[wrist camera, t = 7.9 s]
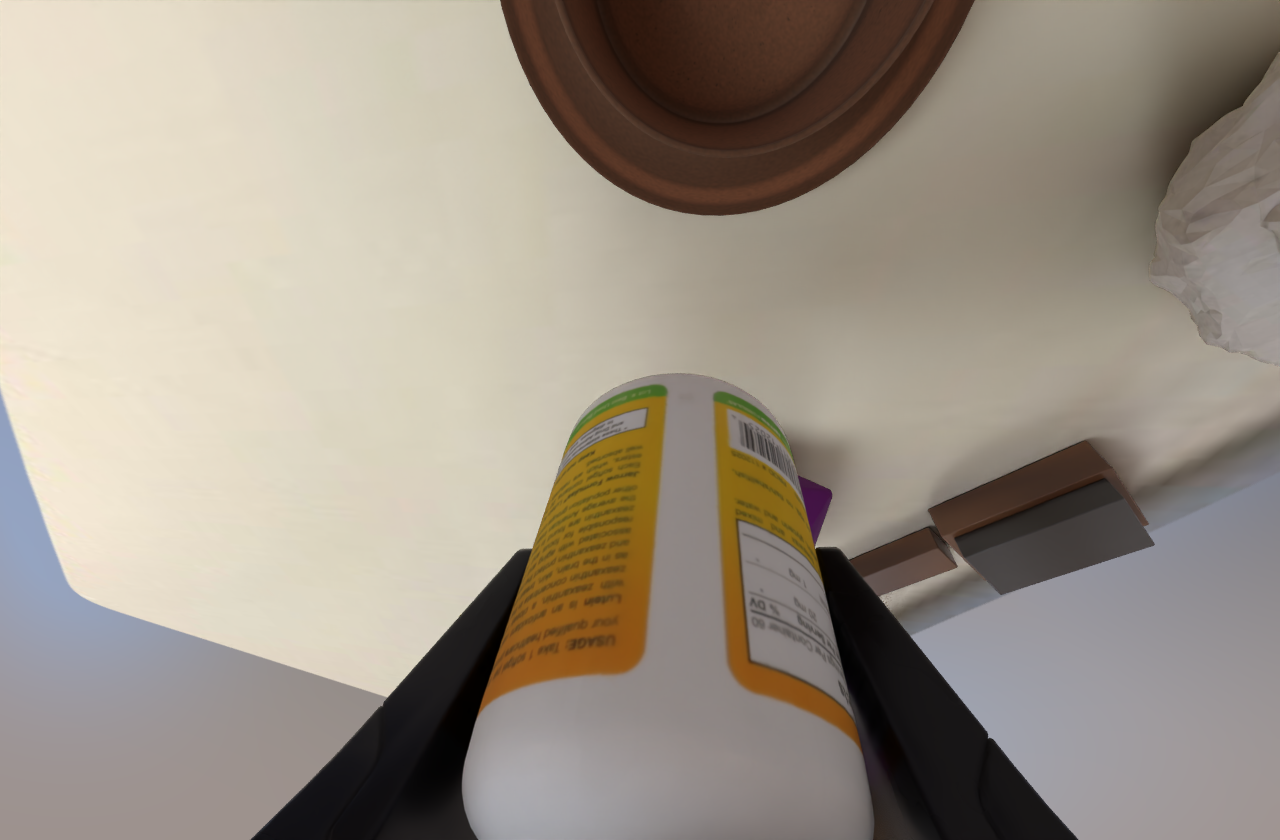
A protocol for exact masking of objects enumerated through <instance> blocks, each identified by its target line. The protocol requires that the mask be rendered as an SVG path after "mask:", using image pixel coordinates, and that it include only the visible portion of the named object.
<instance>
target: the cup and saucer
mask: <svg viewBox="0 0 1280 840" xmlns="http://www.w3.org/2000/svg"><path fill="white" fill-rule="evenodd" d="M500 1H501V6H502V10H503V13H504V17H505V20H506V24H507V27H508V31H509V34H510V37H511V40H512V42H513V45H514V48H515V51H516V53H517V56H518V59H519V61H520V64H521V66H522V68H523V70H524V72H525V75H526V77H527V79H528V81H529V83H530V86H531V87H532V89H533V91H534V93H535V95H536V96H537V98H538V100H539V102H540V104H541V106H542V107H543V109H544V110H545V112H546V113H547V115H548V116H549V118H550V119H551V121H552V122H553V124H554V125H555V127H556V128H557V129H558V131H559V132H560V133H561V134H562V136H563V137H564V138H565V140H566V141H567V142H568V143H569V145H570V146H571V147H572V148H573V149H574V150H575V151H576V152H577V153H578V154H579V155H580V156H581V157H582V158H583V159H584V160H585V161H586V162H587V163H588V164H589V165H590V166H591V167H592V168H594V169H595V170H596V171H597V172H598V173H599V174H601V175H602V176H603V177H605V178H606V179H607V180H609V181H610V182H612V183H613V184H614V185H616V186H617V187H619V188H621V189H623V190H624V191H626V192H628V193H629V194H631V195H633V196H635V197H637V198H639V199H642V200H644V201H646V202H648V203H651V204H654V205H657V206H660V207H662V208H665V209H669V210H674V211H678V212H682V213H689V214H697V215H718V216H721V215H734V214H742V213H748V212H753V211H759V210H762V209H766V208H769V207H773V206H776V205H779V204H782V203H784V202H787V201H789V200H792V199H795V198H797V197H799V196H801V195H803V194H805V193H807V192H809V191H811V190H813V189H815V188H817V187H819V186H820V185H822V184H824V183H825V182H827V181H829V180H830V179H832V178H834V177H835V176H837V175H838V174H839V173H841V172H842V171H844V170H845V169H846V168H848V167H849V166H850V165H852V164H853V163H855V162H856V161H857V160H858V159H859V158H860V157H862V156H863V155H864V154H865V153H866V152H867V151H869V150H870V149H871V148H872V147H873V146H874V145H875V144H876V143H877V142H878V141H879V140H880V139H881V138H882V137H883V136H884V135H885V134H886V133H887V132H888V131H890V130H891V129H892V127H893V126H894V125H895V124H896V123H897V122H898V121H899V119H900V118H901V117H902V116H903V115H904V114H905V113H906V111H907V110H908V109H909V108H910V107H911V105H912V104H913V103H914V101H915V100H916V99H917V97H918V96H919V95H920V94H921V92H922V91H923V90H924V88H925V87H926V86H927V84H928V83H929V81H930V80H931V78H932V77H933V75H934V74H935V72H936V71H937V69H938V67H939V66H940V64H941V63H942V61H943V60H944V58H945V56H946V55H947V53H948V51H949V49H950V48H951V46H952V44H953V42H954V40H955V39H956V37H957V35H958V33H959V32H960V30H961V28H962V25H963V23H964V21H965V19H966V17H967V15H968V13H969V11H970V9H971V7H972V5H973V3H974V0H500Z"/></svg>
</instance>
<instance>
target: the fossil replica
mask: <svg viewBox="0 0 1280 840" xmlns="http://www.w3.org/2000/svg"><path fill="white" fill-rule="evenodd" d="M1158 211H1159V214H1158V217H1157V219H1156V222H1155V232H1156V236H1157V243H1156V248H1155V252H1154V257H1155V258H1154V259H1153V260H1152V261H1151V262H1150V264H1149V277H1150V281H1151V282H1152V283H1153V284H1154V285H1156V286H1158V287H1160V288H1162V289H1165V290H1167V291H1169V292H1171V293H1172V294H1173V295H1174V296H1175V297H1176V298H1178V299H1179V300H1180V301H1181V302H1182V303H1183V304H1184V305H1185V306H1186V307H1187V308H1188V309H1189V312H1190V315H1191V319H1192V320H1193V321H1194V322H1195V324H1196V325H1197V326H1198V330H1199V335H1200V337H1201V338H1202V339H1203V341H1204V342H1205V343H1206V344H1209V345H1214V346H1219V347H1221V348H1223V349H1225V350H1226V351H1228V352H1240V353H1242V354H1246V355H1248V356H1250V357H1252V358H1254V359H1256V360H1258V361H1261V362H1265V363H1270V364H1274V365H1277V366H1280V51H1279V52H1278V54H1277V55H1276V57H1275V59H1274V60H1273V62H1272V64H1271V65H1270V67H1269V69H1268V70H1267V72H1266V74H1265V75H1264V77H1263V79H1262V81H1261V83H1260V84H1259V85H1258V86H1257V87H1256V88H1255V89H1254V90H1253V92H1252V93H1251V94H1250V96H1249V97H1248V98H1247V99H1246V101H1245V103H1244V105H1243V106H1242V107H1240V108H1238V109H1235V110H1233V111H1231V112H1229V113H1228V114H1226V115H1225V116H1223V117H1222V118H1220V119H1219V120H1218V121H1217V122H1216V123H1214V124H1213V125H1212V126H1211V127H1210V128H1208V129H1207V130H1206V131H1205V132H1203V133H1202V134H1201V135H1199V136H1198V137H1197V138H1195V139H1194V140H1193V141H1192V143H1191V147H1190V151H1189V153H1188V155H1187V156H1186V158H1185V159H1184V160H1183V162H1182V163H1181V165H1180V166H1179V168H1178V169H1177V171H1176V173H1175V174H1174V176H1173V178H1172V179H1171V181H1170V183H1169V186H1168V189H1167V193H1166V197H1165V198H1164V199H1163V200H1162V202H1161V203H1160V205H1159V206H1158Z"/></svg>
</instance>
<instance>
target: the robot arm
mask: <svg viewBox="0 0 1280 840" xmlns="http://www.w3.org/2000/svg"><path fill="white" fill-rule="evenodd" d="M815 551H816V555H817V560H818V564H819V568H820V572H821V577H822V581H823V585H824V590H825V594H826V599H827V603H828V607H829V612H830V616H831V620H832V625H833V629H834V633H835V638H836V642H837V646H838V651H839V655H840V659H841V663H842V668H843V672H844V676H845V680H846V684H847V689H848V693H849V698H850V702H851V706H852V709H853V713H854V717H855V721H856V726H857V731H858V735H859V739H860V743H861V748H862V752H863V756H864V761H865V766H866V772H867V777H868V782H869V788H870V793H871V798H872V805H873V814H874V834H873V840H1078V839H1077V838H1076V836H1075V835H1074V834H1073V833H1072V832H1071V831H1070V830H1069V829H1068V828H1067V826H1066V825H1065V824H1064V823H1063V822H1062V821H1061V820H1060V819H1059V818H1058V816H1057V815H1056V814H1055V813H1054V812H1053V811H1052V810H1051V809H1050V808H1049V806H1048V805H1047V804H1046V803H1045V802H1044V801H1043V799H1042V798H1041V797H1040V796H1039V795H1038V793H1037V792H1036V791H1035V790H1034V789H1033V787H1032V786H1031V785H1030V784H1029V783H1028V782H1027V780H1026V779H1025V778H1024V777H1023V775H1022V774H1021V773H1020V772H1019V771H1018V770H1017V769H1016V767H1015V766H1014V765H1013V763H1012V762H1011V761H1010V760H1009V758H1008V757H1007V756H1006V755H1005V753H1004V752H1003V751H1002V750H1001V748H1000V747H999V746H998V745H997V744H996V742H995V741H994V740H993V739H991V738H988V733H987V731H986V730H985V729H984V728H983V726H982V725H981V724H980V723H979V721H978V720H977V719H976V718H975V717H974V715H973V714H972V713H971V711H970V710H969V709H968V708H967V706H966V705H965V704H964V703H963V702H962V700H961V699H960V698H959V697H958V695H957V694H956V693H955V691H954V690H953V689H952V688H951V687H950V685H949V684H948V683H947V682H946V680H945V679H944V678H943V677H942V675H941V674H940V673H939V672H938V670H937V669H936V668H935V667H934V666H933V664H932V663H931V662H930V660H929V659H928V658H927V657H926V655H925V654H924V653H923V652H922V650H921V649H920V648H919V647H918V646H917V644H916V643H915V642H914V641H913V639H912V638H911V637H910V635H909V634H908V633H907V632H906V631H905V629H904V628H903V627H902V626H901V624H900V623H899V622H898V621H897V619H896V618H895V617H894V616H893V614H892V613H891V612H890V611H889V609H888V608H887V607H886V606H885V604H884V603H883V602H882V601H881V599H880V598H879V597H878V596H877V594H876V593H875V592H874V591H873V589H872V588H871V587H870V586H869V584H868V583H867V582H866V581H865V580H864V578H863V577H862V576H861V575H860V573H859V572H858V571H857V570H856V568H855V567H854V566H853V565H852V563H851V562H850V561H849V560H848V558H847V557H846V556H845V555H844V553H843V552H842V551H841V550H840V549H839V548H837V547H817V548H816V549H815ZM531 552H532V549H521V550H519V551H517V552H516V553H515V554H514V556H513V557H512V558H511V559H510V560H509V561H508V562H507V563H506V565H505V566H504V567H503V568H502V569H501V570H500V571H499V573H498V574H497V575H496V576H495V577H494V578H493V579H492V580H491V582H490V583H489V584H488V585H487V586H486V587H485V588H484V589H483V591H482V592H481V593H480V594H479V595H478V596H477V597H476V598H475V600H474V601H473V602H472V603H471V604H470V605H469V606H468V608H467V609H466V610H465V611H464V612H463V613H462V614H461V615H460V617H459V618H458V619H457V620H456V621H455V622H454V623H453V624H452V626H451V627H450V628H449V629H448V630H447V631H446V632H445V633H444V635H443V636H442V637H441V638H440V639H439V640H438V641H437V643H436V644H435V645H434V646H433V647H432V648H431V649H430V650H429V652H428V653H427V654H426V655H425V656H424V657H423V658H422V659H421V661H420V662H419V663H418V664H417V665H416V666H415V667H414V668H413V670H412V671H411V672H410V673H409V674H408V675H407V676H406V678H405V679H404V680H403V681H402V682H401V683H400V684H399V685H398V687H397V688H396V689H395V690H394V691H393V692H392V693H391V694H390V696H389V697H388V698H387V699H386V700H385V701H384V703H383V706H380V707H379V708H378V709H377V710H376V711H375V712H374V713H373V715H372V716H371V717H370V718H369V719H368V720H367V721H366V722H365V724H364V725H363V726H362V727H361V728H360V729H359V730H358V731H357V732H356V733H355V735H354V736H353V737H352V738H351V739H350V740H349V741H348V742H347V743H346V744H345V745H344V746H343V748H342V749H341V750H340V751H339V752H338V753H337V754H336V755H335V756H334V757H333V758H332V759H331V760H330V761H329V762H328V763H327V764H326V765H325V766H324V767H323V768H322V769H321V770H320V771H319V773H318V774H316V776H315V777H314V778H313V779H312V780H311V781H310V782H309V783H308V784H307V785H306V786H305V787H304V788H303V789H302V790H301V791H300V792H299V793H298V794H296V796H294V797H293V798H292V799H291V800H290V801H289V802H288V803H287V804H286V805H285V806H284V807H283V808H282V809H281V810H280V811H279V812H278V813H277V814H276V815H275V816H274V817H273V818H272V819H271V820H270V821H269V822H268V823H267V824H266V825H265V826H264V827H263V828H262V829H261V830H260V831H259V832H258V833H257V834H256V835H255V836H254V837H253V838H252V839H251V840H478V839H477V837H476V835H475V834H474V832H473V830H472V828H471V827H470V824H469V821H468V818H467V815H466V813H465V809H464V803H463V796H462V777H463V769H464V763H465V759H466V755H467V752H468V748H469V744H470V741H471V737H472V733H473V729H474V726H475V722H476V719H477V716H478V712H479V709H480V706H481V703H482V699H483V696H484V693H485V690H486V688H487V685H488V682H489V679H490V676H491V673H492V670H493V667H494V663H495V660H496V657H497V654H498V651H499V648H500V645H501V642H502V639H503V636H504V633H505V630H506V627H507V624H508V621H509V618H510V615H511V612H512V609H513V606H514V603H515V600H516V597H517V594H518V591H519V588H520V586H521V583H522V579H523V576H524V573H525V570H526V567H527V564H528V561H529V558H530V555H531Z"/></svg>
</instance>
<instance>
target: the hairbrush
mask: <svg viewBox="0 0 1280 840" xmlns="http://www.w3.org/2000/svg"><path fill="white" fill-rule="evenodd" d="M928 511H929V513H930V515H931V517H932V519H933V521H934V523H935V525H936V527H937V529H938V531H939V533H940V535H941V537H942V538H943V539H944V540H945V541H946V542H947V543H948V544H949V545H950V546H951V547H952V548H953V549H954V550H955V551H956V552H957V553H958V554H959V555H960V556H961V557H962V558H963V559H964V560H965V561H966V562H967V563H968V564H969V565H970V566H971V567H972V568H973V569H974V570H975V571H976V572H977V573H978V574H979V575H980V576H981V577H982V578H983V579H984V580H986V581H987V582H988V583H989V584H990V585H991V586H992V587H993V588H994V589H995V590H996V591H997V592H998V593H999V594H1000V595H1002V594H1005V593H1009V592H1012V591H1015V590H1018V589H1021V588H1024V587H1027V586H1030V585H1033V584H1036V583H1040V582H1043V581H1046V580H1049V579H1052V578H1055V577H1058V576H1061V575H1064V574H1067V573H1070V572H1073V571H1077V570H1079V569H1083V568H1086V567H1089V566H1092V565H1095V564H1098V563H1101V562H1104V561H1108V560H1111V559H1114V558H1117V557H1120V556H1123V555H1126V554H1129V553H1132V552H1135V551H1139V550H1142V549H1145V548H1148V547H1151V546H1154V545H1155V544H1154V542H1153V541H1152V539H1151V538H1150V536H1149V534H1148V533H1147V531H1146V530H1145V528H1144V527H1143V526H1146V525H1148V524H1149V523H1148V521H1147V520H1146V518H1145V517H1144V515H1143V514H1142V512H1141V511H1140V509H1139V508H1138V506H1137V505H1136V503H1135V501H1134V500H1133V498H1132V497H1131V495H1130V494H1129V492H1128V491H1127V489H1126V488H1125V486H1124V484H1123V483H1122V481H1121V480H1120V478H1119V477H1118V475H1117V474H1116V472H1115V471H1114V469H1113V467H1112V466H1111V465H1110V464H1109V463H1108V462H1107V461H1106V460H1105V459H1104V458H1103V457H1102V456H1101V455H1100V454H1099V453H1098V452H1097V451H1096V450H1095V449H1094V448H1093V447H1092V446H1091V445H1090V444H1089V443H1088V442H1087V441H1083V442H1081V443H1079V444H1076V445H1074V446H1072V447H1070V448H1067V449H1065V450H1063V451H1060V452H1058V453H1056V454H1054V455H1051V456H1049V457H1047V458H1045V459H1042V460H1040V461H1038V462H1035V463H1033V464H1031V465H1029V466H1026V467H1024V468H1022V469H1019V470H1017V471H1015V472H1013V473H1010V474H1008V475H1006V476H1004V477H1001V478H999V479H997V480H994V481H992V482H990V483H988V484H985V485H983V486H981V487H979V488H976V489H974V490H972V491H969V492H967V493H965V494H963V495H960V496H958V497H956V498H954V499H951V500H949V501H947V502H944V503H942V504H940V505H938V506H935V507H933V508H931V509H929V510H928ZM849 561H850V562H851V563H852V565H853V566H854V567H855V568H856V570H857V571H858V572H859V573H860V575H861V576H862V577H863V578H864V580H865V581H866V582H867V583H868V584H869V586H870V587H871V588H872V589H873V591H874V592H875V593H876V594H877V596H881V595H884V594H886V593H889V592H892V591H894V590H897V589H900V588H903V587H905V586H908V585H911V584H914V583H916V582H919V581H922V580H925V579H927V578H930V577H933V576H935V575H938V574H941V573H944V572H946V571H949V570H952V569H955V568H957V567H958V566H957V564H956V562H955V560H954V558H953V556H952V554H951V552H950V550H949V548H948V546H947V545H946V544H945V543H944V542H943V541H942V540H941V539H940V538H939V537H938V536H937V535H936V534H935V533H934V532H933V531H932V530H931V529H930V528H925V529H923V530H921V531H918V532H916V533H913V534H911V535H909V536H906V537H904V538H901V539H899V540H897V541H894V542H892V543H890V544H887V545H885V546H882V547H880V548H878V549H875V550H873V551H871V552H868V553H866V554H863V555H861V556H859V557H856V558H854V559H852V560H849Z"/></svg>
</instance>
